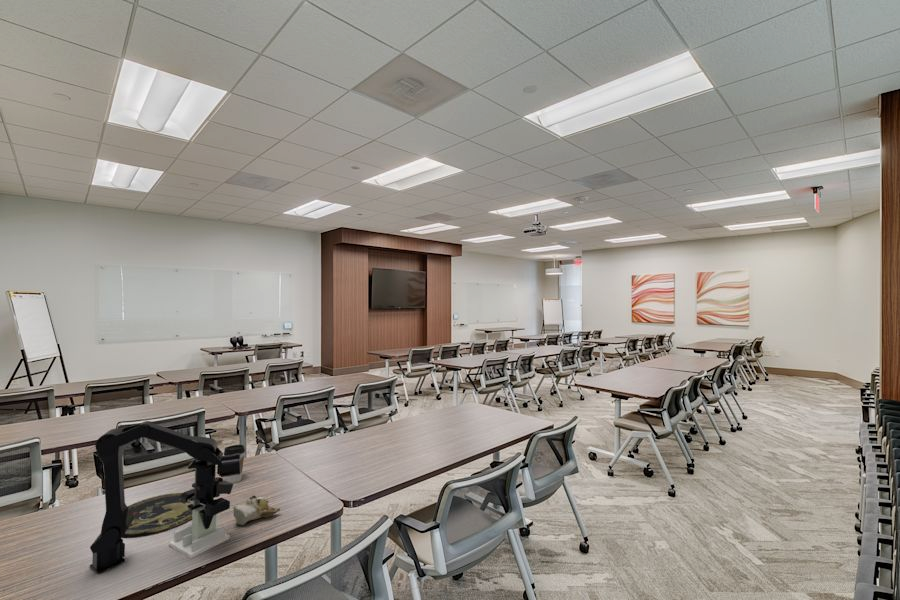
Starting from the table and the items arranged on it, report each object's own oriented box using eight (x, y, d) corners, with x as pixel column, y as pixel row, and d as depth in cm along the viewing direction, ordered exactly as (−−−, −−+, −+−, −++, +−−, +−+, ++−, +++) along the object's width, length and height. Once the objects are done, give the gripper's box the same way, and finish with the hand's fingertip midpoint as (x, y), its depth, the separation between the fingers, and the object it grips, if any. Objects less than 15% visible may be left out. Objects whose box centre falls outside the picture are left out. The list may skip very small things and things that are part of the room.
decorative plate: (82, 528, 134) (162, 488, 163) (82, 533, 134) (162, 492, 163) (155, 539, 128) (224, 495, 157) (155, 545, 128) (224, 500, 157)
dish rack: (191, 558, 120) (191, 545, 120) (169, 545, 127) (169, 533, 127) (229, 538, 131) (229, 526, 131) (207, 527, 137) (207, 516, 137)
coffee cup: (218, 483, 172) (219, 448, 172) (234, 475, 180) (234, 442, 180) (233, 485, 169) (234, 450, 170) (248, 477, 177) (249, 444, 178)
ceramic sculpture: (227, 497, 141) (268, 485, 153) (225, 521, 141) (267, 507, 152) (240, 506, 135) (282, 493, 146) (238, 532, 134) (280, 517, 146)
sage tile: (196, 544, 124) (197, 512, 124) (191, 541, 126) (192, 510, 126) (216, 535, 129) (216, 504, 130) (210, 532, 131) (211, 502, 131)
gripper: (246, 476, 130) (245, 523, 130) (214, 464, 139) (213, 509, 139) (211, 489, 121) (210, 540, 120) (179, 476, 130) (178, 523, 129)
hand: (204, 527), depth 127 cm, fingers closed on sage tile, 3 cm apart
